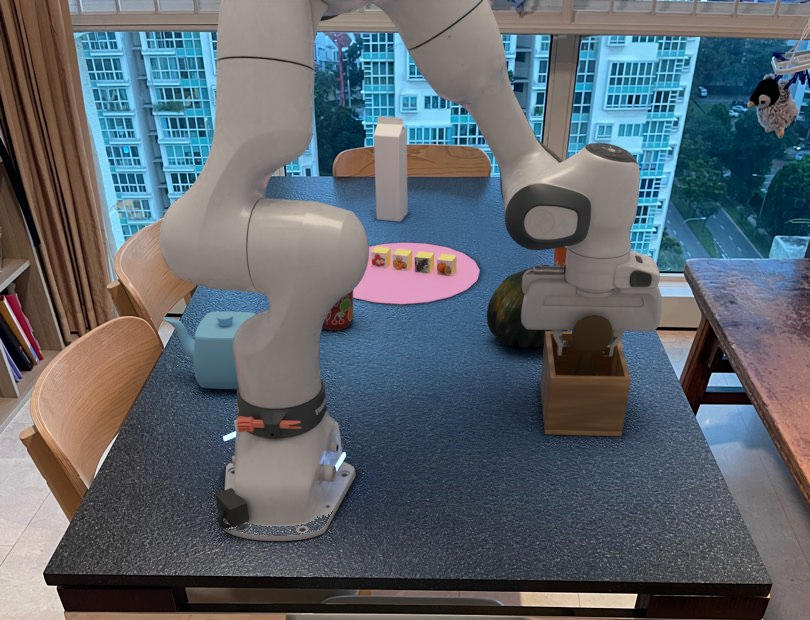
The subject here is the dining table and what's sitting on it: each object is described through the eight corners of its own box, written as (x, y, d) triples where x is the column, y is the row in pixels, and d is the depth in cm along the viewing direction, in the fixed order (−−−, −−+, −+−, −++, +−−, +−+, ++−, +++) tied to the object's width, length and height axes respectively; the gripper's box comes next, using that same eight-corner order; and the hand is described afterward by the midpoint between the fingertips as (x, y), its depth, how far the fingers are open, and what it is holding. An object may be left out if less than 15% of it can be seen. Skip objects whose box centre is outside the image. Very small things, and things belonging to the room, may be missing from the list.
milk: (384, 211, 212) (381, 112, 198) (408, 213, 211) (406, 114, 197) (376, 220, 208) (372, 119, 194) (400, 222, 206) (398, 121, 192)
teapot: (184, 358, 155) (172, 297, 148) (284, 361, 154) (277, 299, 147) (164, 394, 146) (150, 330, 138) (271, 397, 144) (263, 332, 137)
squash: (469, 297, 161) (498, 255, 146) (542, 286, 165) (577, 246, 151) (490, 369, 159) (521, 335, 145) (563, 357, 163) (600, 322, 149)
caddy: (621, 436, 134) (631, 379, 128) (544, 434, 134) (550, 377, 128) (610, 386, 145) (618, 332, 139) (540, 385, 146) (545, 331, 140)
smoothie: (351, 335, 161) (345, 227, 148) (307, 332, 163) (297, 224, 150) (362, 316, 167) (357, 210, 155) (319, 313, 169) (311, 207, 156)
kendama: (566, 419, 136) (574, 295, 123) (559, 390, 143) (566, 270, 131) (606, 418, 135) (617, 293, 123) (596, 388, 143) (606, 268, 131)
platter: (359, 237, 199) (358, 222, 197) (496, 252, 191) (497, 236, 189) (301, 293, 176) (300, 277, 174) (455, 313, 168) (455, 296, 166)
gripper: (523, 274, 123) (517, 363, 132) (671, 276, 122) (654, 365, 131) (522, 257, 128) (515, 343, 137) (664, 259, 127) (648, 346, 136)
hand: (584, 354), depth 134 cm, fingers closed on kendama, 5 cm apart
